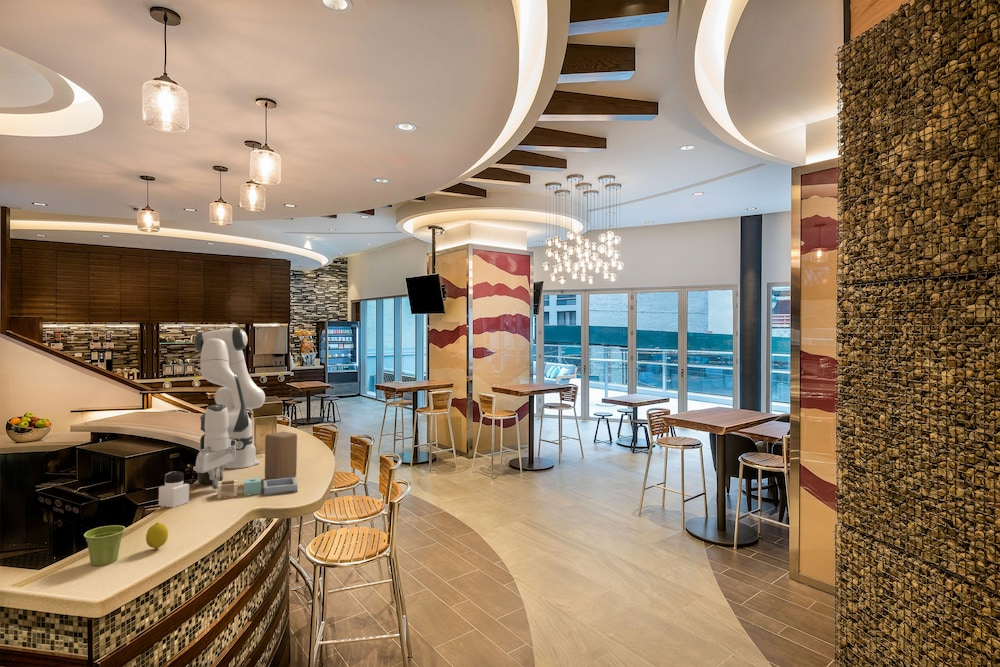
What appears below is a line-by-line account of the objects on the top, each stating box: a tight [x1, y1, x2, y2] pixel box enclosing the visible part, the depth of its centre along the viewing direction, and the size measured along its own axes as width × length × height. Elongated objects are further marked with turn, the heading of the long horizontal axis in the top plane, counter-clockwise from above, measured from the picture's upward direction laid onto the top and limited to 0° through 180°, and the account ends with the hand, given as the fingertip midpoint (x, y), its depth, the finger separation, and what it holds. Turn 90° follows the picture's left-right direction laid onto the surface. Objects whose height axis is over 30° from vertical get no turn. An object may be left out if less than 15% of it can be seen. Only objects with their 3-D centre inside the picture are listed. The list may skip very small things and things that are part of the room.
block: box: [264, 431, 298, 480], centre depth 235 cm, size 10×10×20 cm
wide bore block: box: [216, 479, 238, 499], centre depth 209 cm, size 7×7×5 cm
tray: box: [262, 476, 298, 496], centre depth 217 cm, size 12×12×3 cm
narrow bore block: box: [243, 477, 262, 496], centre depth 213 cm, size 6×6×5 cm
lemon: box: [145, 522, 169, 550], centre depth 156 cm, size 6×6×8 cm
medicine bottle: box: [158, 470, 190, 508], centre depth 197 cm, size 7×7×12 cm
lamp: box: [197, 433, 224, 486], centre depth 225 cm, size 10×10×22 cm
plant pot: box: [83, 524, 127, 566], centre depth 147 cm, size 9×9×9 cm
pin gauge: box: [211, 467, 220, 490], centre depth 214 cm, size 3×3×10 cm
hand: (216, 477), depth 214 cm, fingers closed on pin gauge, 3 cm apart
